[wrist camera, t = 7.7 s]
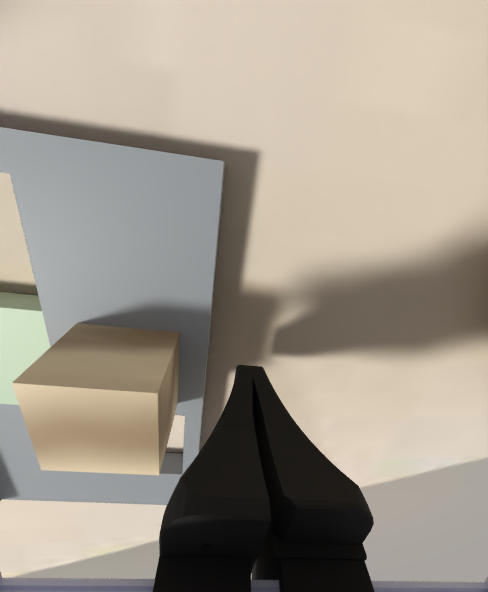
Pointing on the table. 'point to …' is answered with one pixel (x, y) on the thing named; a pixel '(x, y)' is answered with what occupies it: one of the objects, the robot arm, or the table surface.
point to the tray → (107, 285)
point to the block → (102, 400)
